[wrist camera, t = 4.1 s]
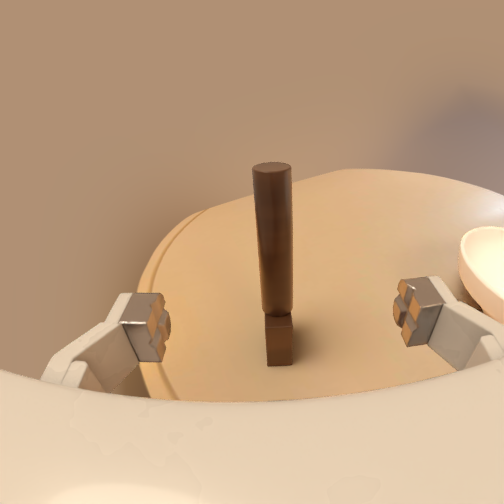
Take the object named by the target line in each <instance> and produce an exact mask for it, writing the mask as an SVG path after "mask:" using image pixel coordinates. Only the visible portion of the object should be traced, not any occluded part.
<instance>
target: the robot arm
mask: <svg viewBox="0 0 504 504" xmlns="http://www.w3.org/2000/svg"><path fill="white" fill-rule="evenodd" d="M397 290H398V292H399V293H400V294H399V295H398V296H397V297H396V298H395V300H394V305H393V316H394V320H395V322H396V324H397V325H398V326H399V327H401V328H402V332H401V335H402V337H403V340H404V342H405V344H406V346H407V347H411V346H418V345H424V344H427V345H428V346H429V347H430V348H431V349H433V350H434V351H435V352H436V353H437V354H438V355H440V356H441V357H442V358H443V359H444V360H446V361H447V362H448V363H449V364H450V365H451V366H453V367H454V368H455V369H456V370H457V372H453V373H449V374H446V375H442V376H438V377H434V378H430V379H426V380H422V381H417V382H413V383H408V384H403V385H398V386H393V387H388V388H382V389H377V390H371V391H364V392H358V393H351V394H344V395H336V396H327V397H317V398H307V399H294V400H279V401H254V402H206V401H182V400H166V399H154V398H143V397H133V396H126V395H117V394H111V392H112V391H113V389H115V388H116V387H117V386H118V385H119V384H120V382H121V381H122V380H123V379H124V378H125V377H126V376H127V375H128V374H129V373H130V372H131V371H132V370H133V369H134V368H135V367H136V366H137V365H138V364H139V362H162V361H163V357H164V354H165V350H166V346H165V344H164V342H165V341H166V340H168V339H169V336H170V332H171V322H170V316H169V313H168V312H167V311H166V310H165V309H164V305H165V300H164V297H163V295H162V294H161V293H122V294H120V295H119V296H118V298H117V300H116V302H115V304H114V305H113V307H112V309H111V311H110V313H109V315H108V317H107V318H106V320H105V322H104V323H99V324H98V325H97V326H95V327H93V328H92V329H91V330H89V331H88V332H86V333H85V334H83V335H82V336H81V337H79V338H78V339H76V340H75V341H73V342H72V343H70V344H69V345H67V346H66V347H65V348H63V349H62V350H60V351H59V352H57V353H56V354H55V355H53V356H52V358H51V360H50V362H49V364H48V365H47V367H46V369H45V371H44V373H43V375H42V377H41V379H40V380H38V379H34V378H30V377H26V376H22V375H18V374H15V373H12V372H8V371H5V370H1V369H0V504H504V325H503V324H501V323H499V322H498V321H496V320H494V319H492V318H491V317H489V316H487V315H485V314H483V313H482V312H480V311H478V310H476V309H475V308H473V307H471V306H469V305H467V304H465V303H464V302H462V301H460V302H458V301H457V299H456V298H455V297H454V295H453V294H452V293H451V291H450V290H449V288H448V287H447V286H446V284H445V283H444V282H443V280H442V279H441V278H440V277H439V276H437V275H433V276H425V277H421V278H411V279H401V280H400V282H399V284H398V288H397Z"/></svg>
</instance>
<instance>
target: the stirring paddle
mask: <svg viewBox="0 0 504 504" xmlns="http://www.w3.org/2000/svg"><path fill="white" fill-rule="evenodd" d="M252 174H253V187H254V201H255V214H256V228H257V242H258V256H259V270H260V284H261V298H262V309H263V311H264V312H265V335H266V351H267V366H282V365H292V338H293V325H292V316H291V310H292V308H293V218H292V177H291V166H290V165H289V164H286V163H280V162H268V163H261V164H258V165H255V166H254V167H253V168H252Z"/></svg>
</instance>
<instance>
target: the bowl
mask: <svg viewBox="0 0 504 504" xmlns="http://www.w3.org/2000/svg"><path fill="white" fill-rule="evenodd" d="M458 269H459V275H460V278H461V280H462V282H463V284H464V286H465V288H466V289H467V291H468V292H469V294H470V295H471V296H472V298H473V299H474V300H475V301H476V302H477V303H478V304H479V305H480V306H481V308H482V311H483V313H484V314H485V315H487V316H489V317H491V318H492V319H494V320H496V321H498V322H499V323H501V324H503V325H504V228H501V227H489V226H486V227H478V228H475V229H472V230H470V231H469V232H467V233H466V234H464V236H463V238H462V239H461V243H460V248H459V255H458Z"/></svg>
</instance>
